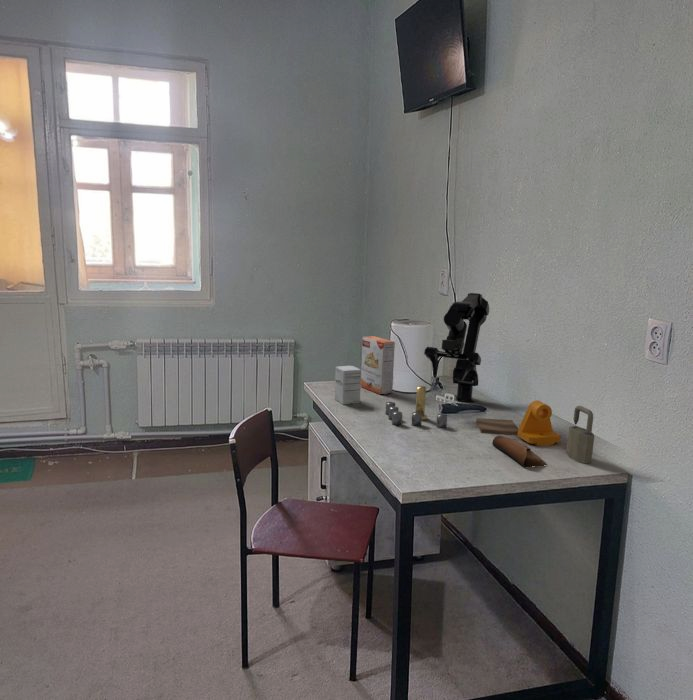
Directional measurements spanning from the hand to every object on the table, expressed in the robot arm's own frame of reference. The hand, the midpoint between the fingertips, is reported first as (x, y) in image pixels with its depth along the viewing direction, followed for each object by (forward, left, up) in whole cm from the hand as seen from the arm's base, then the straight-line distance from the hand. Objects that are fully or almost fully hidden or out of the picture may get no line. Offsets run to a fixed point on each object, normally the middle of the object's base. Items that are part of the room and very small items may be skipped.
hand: (447, 379), depth 200 cm
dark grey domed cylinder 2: (+6, -18, -13) cm, 23 cm away
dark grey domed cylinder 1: (+1, -19, -13) cm, 23 cm away
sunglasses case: (+34, +18, -14) cm, 41 cm away
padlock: (+33, +35, -13) cm, 50 cm away
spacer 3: (+12, -17, -13) cm, 24 cm away
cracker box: (-30, -25, -13) cm, 41 cm away
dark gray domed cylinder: (+11, -10, -13) cm, 20 cm away
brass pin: (+4, -9, -13) cm, 16 cm away
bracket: (+20, +27, -13) cm, 36 cm away
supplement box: (-12, -35, -13) cm, 39 cm away
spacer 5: (+12, -2, -13) cm, 18 cm away
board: (+9, +16, -13) cm, 23 cm away
